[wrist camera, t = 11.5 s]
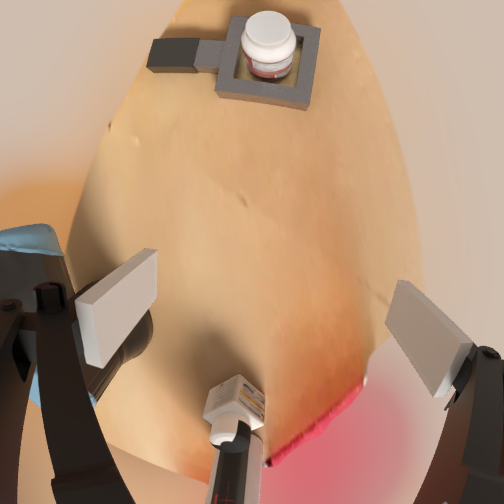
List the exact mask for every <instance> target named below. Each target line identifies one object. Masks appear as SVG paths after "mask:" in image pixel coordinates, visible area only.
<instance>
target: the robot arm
mask: <svg viewBox="0 0 504 504" xmlns="http://www.w3.org/2000/svg"><path fill="white" fill-rule="evenodd" d="M157 267H158V250H153V249H146V248H144V249H143V250H142V251H140V252H139V253H137V254H136V255H135V256H133V257H132V258H130V259H129V260H128V261H126V262H125V263H123V264H122V265H121V266H119V267H118V268H117V269H115V270H114V271H113V272H111V273H110V274H108V275H107V276H106V277H104V278H103V279H102V280H99V281H96V282H93V283H90V284H88V285H87V286H85V287H84V288H83V289H82V290H80V291H79V292H77V294H75V292H74V289H73V286H72V283H71V280H70V277H69V274H68V271H67V267H66V264H65V260H64V254H63V253H62V251H61V249H60V245H59V243H58V239H57V236H56V233H55V231H54V229H53V228H52V227H51V226H49V225H47V224H33V225H26V226H20V227H15V228H11V229H6V230H2V231H0V504H17V486H18V467H19V456H20V446H21V439H22V438H21V437H22V431H23V425H24V419H25V413H26V407H27V403H28V398H30V399H31V400H32V401H33V402H34V403H36V404H37V405H38V406H39V407H40V408H41V411H42V417H43V423H44V429H45V434H46V439H47V444H48V449H49V453H50V457H51V461H52V465H53V469H54V473H55V478H53V479H51V486H52V490H53V494H54V497H55V500H56V504H136V503H135V501H134V500H133V498H132V496H131V494H130V492H129V490H128V488H127V486H126V485H125V483H124V481H123V479H122V477H121V475H120V473H119V470H118V468H117V466H116V464H115V462H114V460H113V457H112V455H111V453H110V451H109V448H108V446H107V443H106V441H105V438H104V436H103V433H102V431H101V428H100V425H99V423H98V420H97V417H96V414H95V411H94V407H95V406H96V404H97V402H98V400H99V399H100V397H101V396H102V394H103V393H104V391H105V389H106V388H107V386H108V385H109V383H110V382H111V380H112V379H113V377H114V376H115V374H116V373H117V371H118V370H119V368H120V367H121V365H123V364H124V363H126V362H127V361H129V360H131V359H132V358H135V357H137V356H139V355H140V354H141V353H142V352H143V351H144V350H145V349H146V347H147V346H148V344H149V343H150V341H151V338H152V335H153V323H152V319H151V316H150V313H149V311H148V309H149V308H150V306H151V305H152V304H153V302H154V301H155V300H156V299H157V297H158V291H157ZM385 324H386V326H387V327H388V329H389V330H390V332H391V333H392V335H393V336H394V338H395V339H396V341H397V342H398V344H399V345H400V346H401V348H402V350H403V351H404V353H405V354H406V356H407V357H408V359H409V360H410V362H411V363H412V365H413V366H414V368H415V369H416V371H417V373H418V374H419V376H420V377H421V379H422V381H423V382H424V384H425V385H426V387H427V389H428V390H429V392H430V394H431V395H432V397H433V398H435V397H442V396H446V395H447V393H448V391H449V389H450V388H451V386H452V385H453V386H454V387H455V389H456V391H455V393H454V394H453V396H452V398H451V399H450V401H449V402H448V404H447V406H446V407H445V409H444V410H447V408H449V410H448V414H447V417H446V421H445V424H444V428H443V431H442V434H441V437H440V440H439V443H438V446H437V449H436V452H435V454H434V457H433V460H432V462H431V465H430V467H429V470H428V472H427V475H426V477H425V480H424V482H423V484H422V486H421V488H420V491H419V493H418V495H417V497H416V499H415V501H414V503H413V504H504V360H501V356H500V355H499V353H498V352H497V351H495V350H494V349H493V348H490V347H487V346H480V347H477V346H476V345H475V344H474V342H473V341H472V340H471V339H470V338H469V337H468V336H467V335H466V334H465V333H464V332H463V331H462V330H461V329H460V328H459V327H458V326H457V325H456V324H455V323H454V322H453V321H452V320H451V319H450V318H449V317H448V316H447V315H446V314H445V313H443V312H442V311H441V310H440V309H439V308H438V307H437V306H436V305H435V304H434V303H433V302H432V301H431V300H430V299H428V298H427V297H426V296H425V295H424V294H423V293H422V292H421V291H420V290H419V289H417V288H416V287H415V286H414V285H413V284H412V283H411V282H409V281H404V280H398V282H397V285H396V289H395V292H394V295H393V299H392V302H391V305H390V309H389V312H388V315H387V318H386V321H385Z"/></svg>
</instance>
